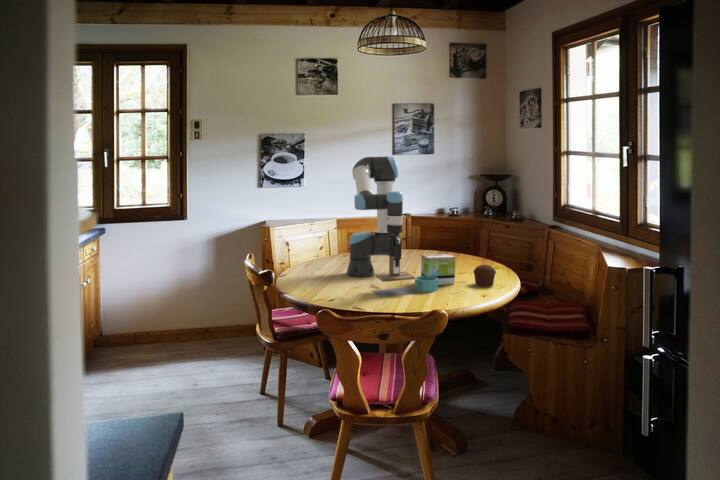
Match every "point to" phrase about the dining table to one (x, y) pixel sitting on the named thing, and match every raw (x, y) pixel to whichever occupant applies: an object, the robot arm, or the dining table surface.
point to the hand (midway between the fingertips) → (394, 272)
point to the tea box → (439, 268)
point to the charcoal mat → (394, 292)
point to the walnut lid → (392, 276)
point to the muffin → (484, 275)
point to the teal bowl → (426, 284)
